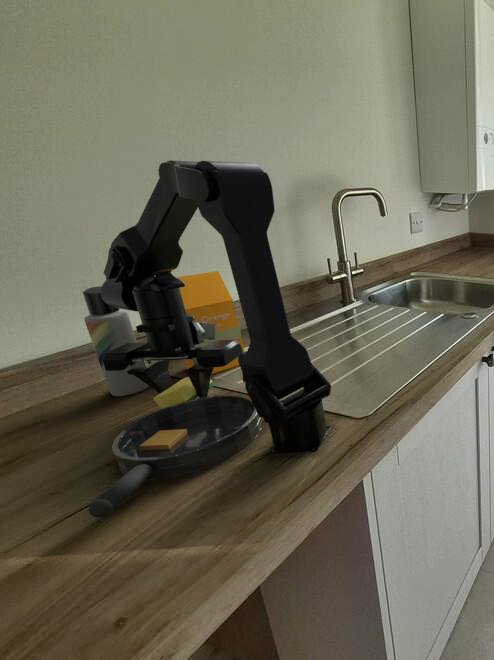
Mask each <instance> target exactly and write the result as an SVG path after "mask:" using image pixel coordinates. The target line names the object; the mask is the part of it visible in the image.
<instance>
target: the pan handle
mask: <svg viewBox="0 0 494 660" xmlns="http://www.w3.org/2000/svg"><path fill="white" fill-rule="evenodd" d="M152 474H153V469H152V467H151V466H149V465H147V464H141V465H138V466H136V467H134V468H133V469H132V470H131V471H129V472H128V473H127V474H126V475H124V474H123V476H122V477H121V478H119V479H118V480H117V481H116V482H115V483H113V484H112V485H111V486H109V488H107V489H106V490H105V491H104V492H102V493H101V494H100V495H99V496H97V497H96V498H95V499H94V500H93V501H91V503H90V504H89V507H88V513H89V514H90V516H92V517H94V518H103V517H106V516H108V515H110V514H111V513H112V512H113V511H114V510H116V509H117V508H118V507H119V506H120V505H122V503H124V502H125V501H126V500H127V499H128V498H129V497H130V496H132V495H133V494H134V493H135V492H136V491H137V490H138V489H140V487H141V486H143V485H144V484H145V483H146V482H147V481H148V479H149V478H150V477H151V476H152Z"/></svg>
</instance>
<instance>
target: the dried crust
mask: <svg viewBox="0 0 494 660" xmlns="http://www.w3.org/2000/svg"><path fill="white" fill-rule="evenodd" d="M187 434H188V432H187V429H180V430H159V431H158V432H157V433H155V434H154V435H153V436H152V437H150V438H149V439H148V440H146V441H145V442H144V443H142V444H141V445H140V446H139V447H140V450H161V449H170V448H171V447H172V446H174V445H175V444H176V443H177V442H178V441H179V440H181V439H182V438H183V437H184V436H185V435H187Z"/></svg>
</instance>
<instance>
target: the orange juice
mask: <svg viewBox="0 0 494 660" xmlns="http://www.w3.org/2000/svg"><path fill="white" fill-rule="evenodd" d="M175 277H176V276H175ZM176 278H178V279H180V280H182V281H183V282H184V283H185V287H181V288H179V289H180V292H181V296H182V300H183V303H184V307H185V311H186V314H187V315H193V317H194V318H195V321H196V322H201V323H215V340H236V341H238V342H239V343H240V344H241V347H242V351H243V353H244V352H246V351H245V348H244V342H243V339H242V333H241V329H240V325H239V322H238V317H237V311H236V309H235V305H234V300H233V298H232V296H231V294H230V292H229V290H228V288H227V286H226V284H225V282H224V280H223V279H222V276H221V275H220V273H219V271H218V270H216V271H209V272H202V273H197V274H196V273H195V274H190V275H183V276H177V277H176ZM203 340H204V342H203V343H201V344H197V345H195V348H199V347H205V346H206V345H208V344H210V343H211V342H213V341H215V340H209V339H203ZM185 354H186V353H185ZM193 362H194V361H193V359H184V363H185V364H184V365H185V368H186V370H187V369H188V368H190V367H192V366H193V365H194V363H193ZM239 366H240V365H239V362H238V357H237V358H236V359H234V360H233V361H232V362H230V363H229V364H227V365H226V366H222V367H214V369H213V372H212V375H214V374H217V373H219V372H223V371H225V370H229V369H233V368H235V367H239Z"/></svg>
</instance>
